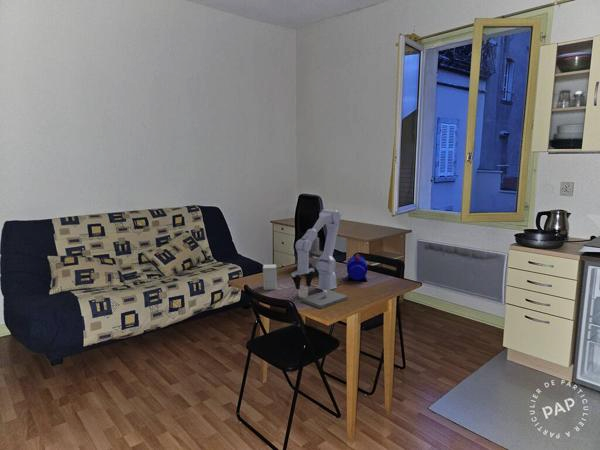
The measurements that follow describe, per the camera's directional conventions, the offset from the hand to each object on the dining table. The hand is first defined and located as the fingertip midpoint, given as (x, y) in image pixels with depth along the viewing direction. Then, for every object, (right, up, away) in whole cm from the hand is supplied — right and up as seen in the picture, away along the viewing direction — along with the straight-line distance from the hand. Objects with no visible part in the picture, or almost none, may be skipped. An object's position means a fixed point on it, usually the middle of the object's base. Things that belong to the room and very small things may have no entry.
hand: (303, 287), depth 219 cm
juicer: (+7, +3, +50) cm, 51 cm away
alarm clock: (+33, 0, +30) cm, 44 cm away
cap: (0, -5, +1) cm, 5 cm away
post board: (+11, -6, -5) cm, 14 cm away
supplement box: (-18, -3, +15) cm, 24 cm away
